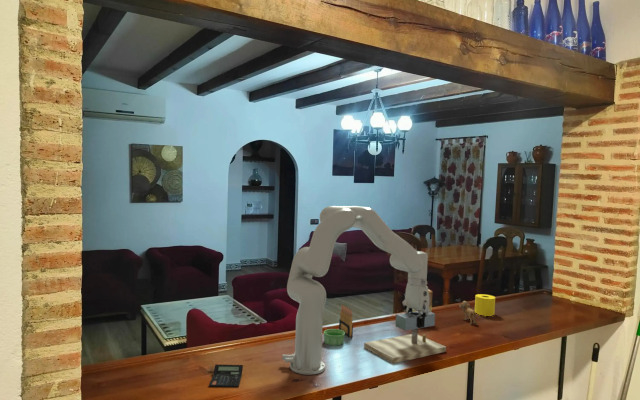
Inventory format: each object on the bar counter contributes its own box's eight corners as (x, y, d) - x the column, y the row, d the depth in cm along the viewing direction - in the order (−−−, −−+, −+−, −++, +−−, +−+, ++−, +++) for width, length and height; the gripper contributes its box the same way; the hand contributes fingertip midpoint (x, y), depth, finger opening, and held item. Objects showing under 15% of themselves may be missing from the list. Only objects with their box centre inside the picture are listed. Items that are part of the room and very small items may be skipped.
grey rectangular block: (405, 330, 179) (406, 318, 179) (395, 326, 184) (396, 314, 184) (434, 325, 187) (435, 313, 187) (424, 321, 192) (424, 309, 192)
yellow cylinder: (470, 311, 245) (471, 294, 245) (486, 311, 248) (487, 294, 247) (481, 316, 236) (482, 299, 235) (498, 316, 238) (499, 298, 238)
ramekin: (333, 337, 195) (333, 327, 195) (349, 343, 188) (349, 332, 188) (318, 341, 188) (319, 331, 188) (334, 348, 182) (334, 337, 182)
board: (392, 363, 168) (393, 342, 168) (364, 347, 184) (364, 328, 183) (446, 351, 183) (446, 332, 182) (415, 337, 198) (415, 319, 198)
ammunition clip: (352, 337, 196) (353, 310, 195) (348, 337, 195) (350, 310, 194) (342, 329, 205) (343, 303, 205) (338, 330, 205) (339, 303, 204)
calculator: (208, 387, 143) (209, 378, 143) (215, 372, 155) (215, 363, 155) (238, 388, 144) (238, 379, 144) (242, 373, 155) (243, 364, 155)
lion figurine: (457, 317, 233) (458, 300, 233) (466, 317, 234) (467, 299, 234) (472, 326, 219) (473, 307, 219) (482, 325, 220) (483, 307, 220)
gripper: (439, 285, 179) (437, 329, 180) (409, 276, 194) (407, 318, 195) (425, 286, 175) (423, 332, 176) (396, 278, 190) (394, 320, 191)
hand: (415, 324), depth 185 cm, fingers closed on grey rectangular block, 6 cm apart
